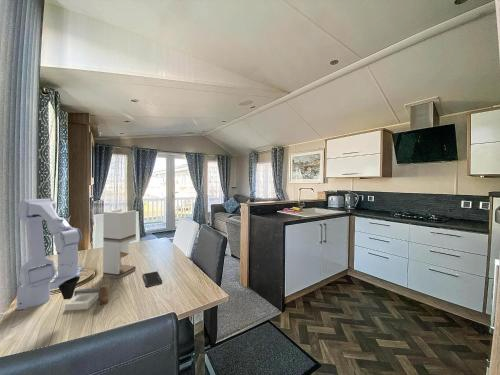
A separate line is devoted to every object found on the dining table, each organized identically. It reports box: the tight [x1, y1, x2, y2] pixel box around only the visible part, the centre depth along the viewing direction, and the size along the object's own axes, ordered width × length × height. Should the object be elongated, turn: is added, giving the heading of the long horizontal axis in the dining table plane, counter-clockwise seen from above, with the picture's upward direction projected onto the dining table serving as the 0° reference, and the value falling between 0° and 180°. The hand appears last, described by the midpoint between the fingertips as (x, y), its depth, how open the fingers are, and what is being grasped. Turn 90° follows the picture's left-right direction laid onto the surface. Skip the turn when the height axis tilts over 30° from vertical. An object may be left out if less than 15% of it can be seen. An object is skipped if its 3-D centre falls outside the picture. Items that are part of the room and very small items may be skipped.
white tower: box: [102, 209, 137, 279], centre depth 119 cm, size 11×11×35 cm
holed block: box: [64, 293, 100, 311], centre depth 88 cm, size 8×8×2 cm
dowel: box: [99, 284, 109, 306], centre depth 89 cm, size 3×3×8 cm
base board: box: [73, 287, 100, 299], centre depth 85 cm, size 11×17×4 cm, turn 9°
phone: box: [142, 271, 163, 288], centre depth 113 cm, size 8×1×15 cm
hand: (68, 298), depth 79 cm, fingers closed
